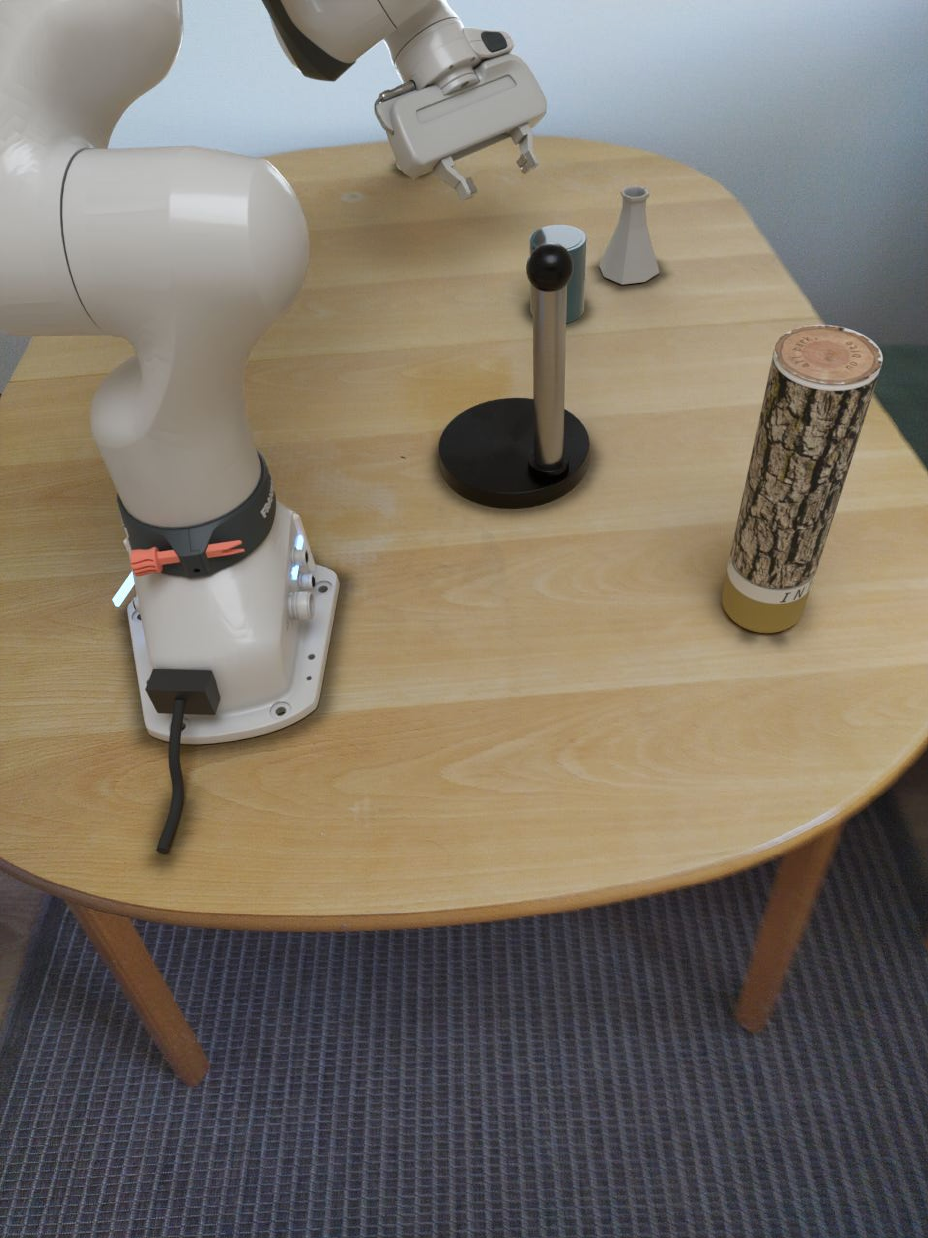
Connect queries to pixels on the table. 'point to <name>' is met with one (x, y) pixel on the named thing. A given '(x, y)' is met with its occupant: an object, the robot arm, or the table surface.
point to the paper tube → (797, 471)
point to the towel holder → (524, 414)
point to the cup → (576, 247)
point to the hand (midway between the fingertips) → (501, 182)
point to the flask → (630, 242)
